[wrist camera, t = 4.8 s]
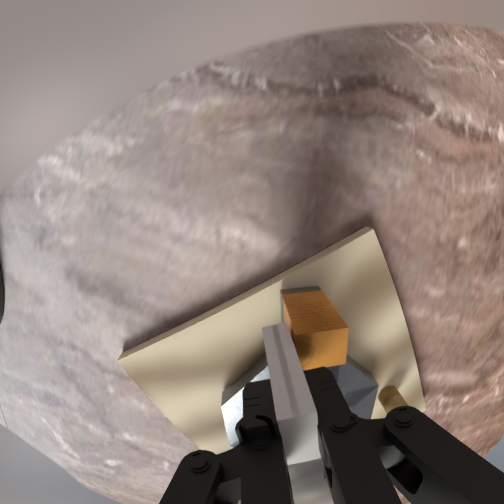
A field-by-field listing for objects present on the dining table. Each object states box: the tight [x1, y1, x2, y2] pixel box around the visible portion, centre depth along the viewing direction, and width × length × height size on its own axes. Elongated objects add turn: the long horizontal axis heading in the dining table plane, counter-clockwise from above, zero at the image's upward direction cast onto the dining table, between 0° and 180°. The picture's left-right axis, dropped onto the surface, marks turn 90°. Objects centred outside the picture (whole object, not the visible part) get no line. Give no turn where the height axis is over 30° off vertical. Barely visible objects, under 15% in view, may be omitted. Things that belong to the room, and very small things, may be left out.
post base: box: [117, 226, 426, 504], centre depth 16 cm, size 20×20×10 cm
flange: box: [221, 286, 379, 448], centre depth 16 cm, size 16×11×6 cm
